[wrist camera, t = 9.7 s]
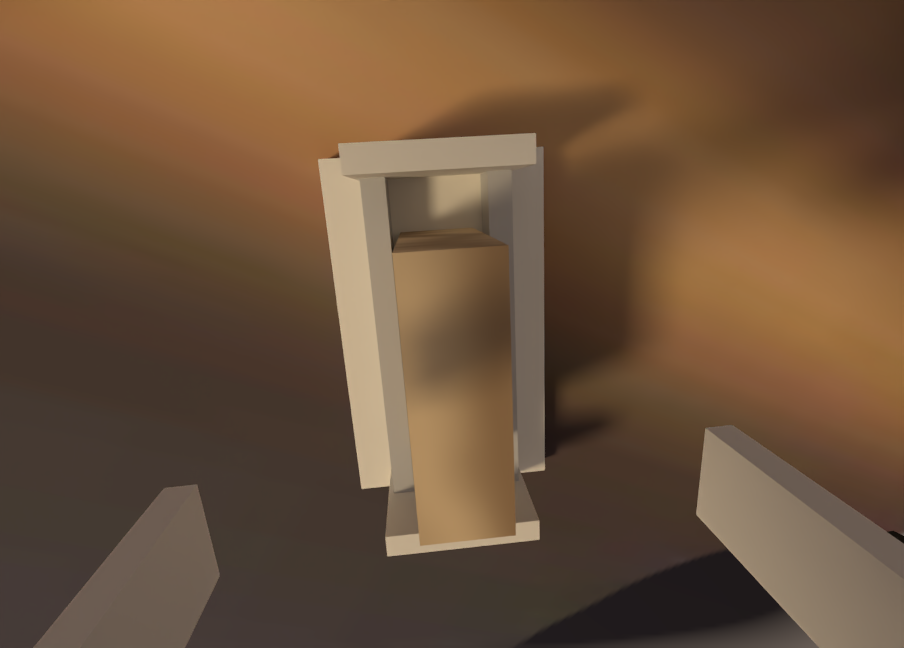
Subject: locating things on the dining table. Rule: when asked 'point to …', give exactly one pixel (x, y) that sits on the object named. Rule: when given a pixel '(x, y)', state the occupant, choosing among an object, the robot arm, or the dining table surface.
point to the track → (375, 305)
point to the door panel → (457, 381)
